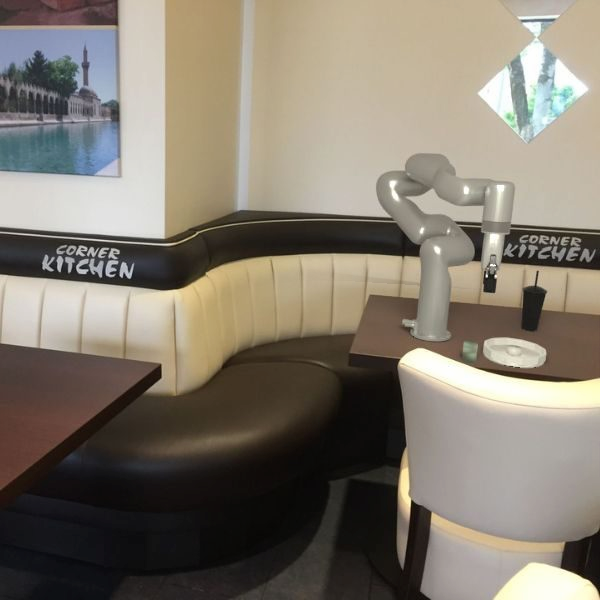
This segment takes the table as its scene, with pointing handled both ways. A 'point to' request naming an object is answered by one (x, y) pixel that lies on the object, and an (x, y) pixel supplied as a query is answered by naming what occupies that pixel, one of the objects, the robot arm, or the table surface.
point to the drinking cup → (532, 305)
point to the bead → (469, 351)
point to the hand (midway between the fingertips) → (488, 288)
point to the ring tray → (522, 361)
